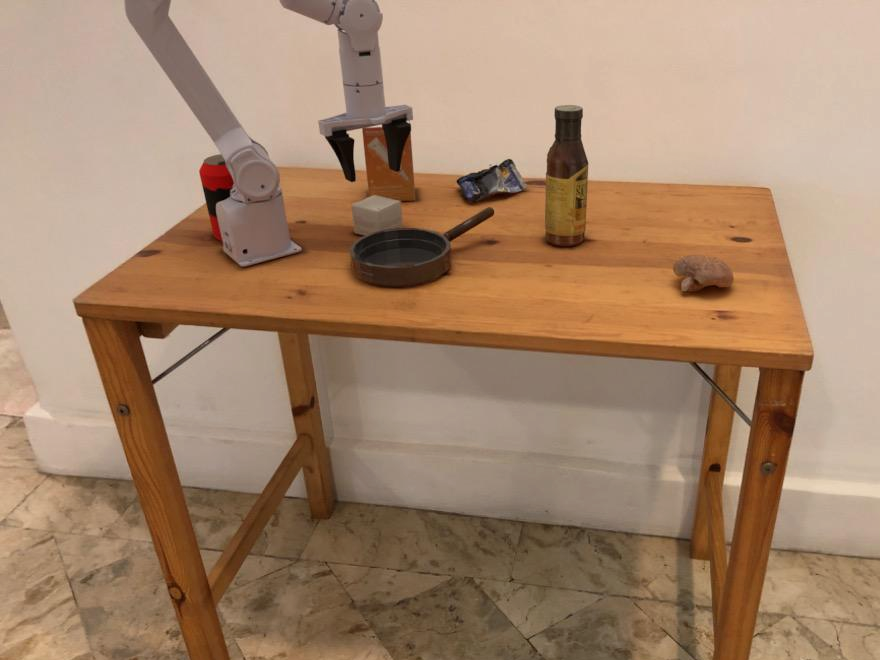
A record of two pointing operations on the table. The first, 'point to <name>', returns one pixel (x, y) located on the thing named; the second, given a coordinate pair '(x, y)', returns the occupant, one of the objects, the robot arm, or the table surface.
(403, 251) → the pan
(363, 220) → the small box
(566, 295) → the table surface
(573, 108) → the sauce bottle
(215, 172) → the soda can
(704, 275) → the mushroom
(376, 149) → the small box
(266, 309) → the table surface
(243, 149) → the robot arm
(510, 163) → the snack package
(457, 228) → the pan handle
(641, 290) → the table surface
